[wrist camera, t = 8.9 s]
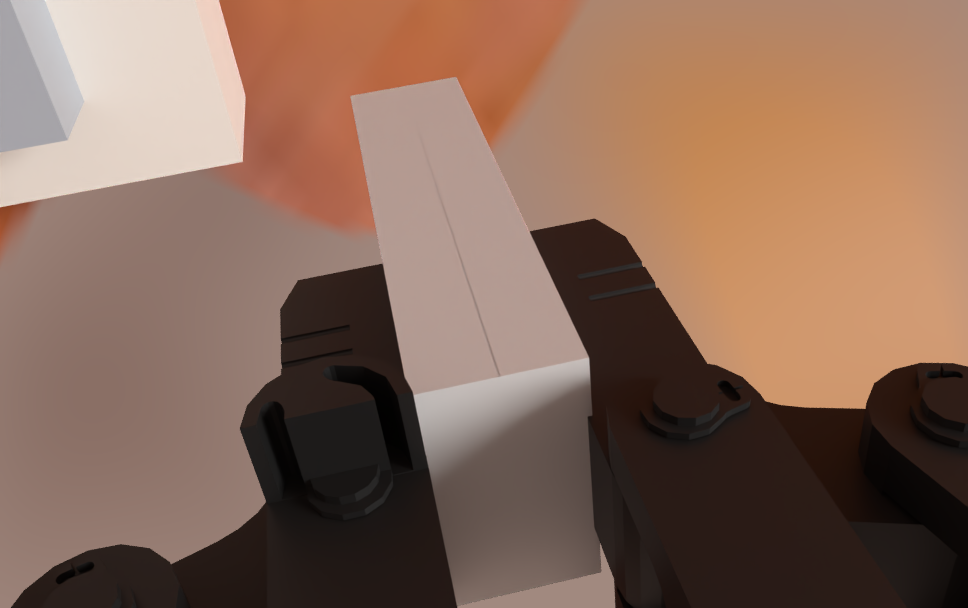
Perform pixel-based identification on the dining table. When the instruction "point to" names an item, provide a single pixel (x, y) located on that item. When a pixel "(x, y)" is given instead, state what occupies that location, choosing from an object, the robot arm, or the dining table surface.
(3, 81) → the slate tile
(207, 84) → the raised board
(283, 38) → the dining table surface
